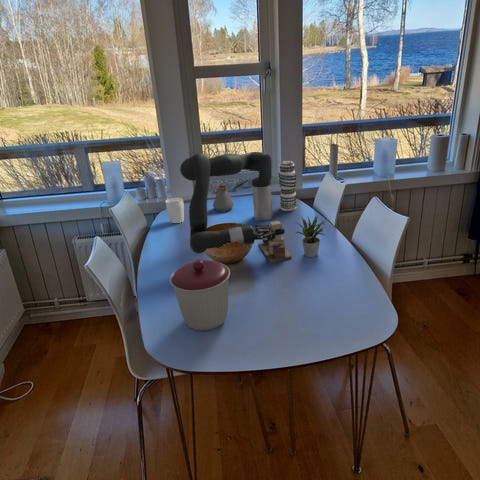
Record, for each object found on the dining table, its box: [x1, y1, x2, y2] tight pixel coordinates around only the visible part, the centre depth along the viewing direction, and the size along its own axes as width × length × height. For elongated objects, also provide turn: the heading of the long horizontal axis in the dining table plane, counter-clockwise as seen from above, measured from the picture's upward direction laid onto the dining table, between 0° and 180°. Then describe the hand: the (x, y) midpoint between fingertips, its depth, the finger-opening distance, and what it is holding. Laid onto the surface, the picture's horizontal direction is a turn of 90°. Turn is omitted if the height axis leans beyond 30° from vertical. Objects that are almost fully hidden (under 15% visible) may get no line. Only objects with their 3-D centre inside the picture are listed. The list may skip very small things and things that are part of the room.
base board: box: [258, 241, 293, 263], centre depth 167 cm, size 18×9×6 cm, turn 12°
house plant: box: [294, 215, 330, 258], centre depth 159 cm, size 14×14×16 cm
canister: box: [169, 259, 231, 332], centre depth 123 cm, size 18×18×21 cm
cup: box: [165, 196, 185, 224], centre depth 208 cm, size 9×9×12 cm
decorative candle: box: [277, 160, 298, 212], centre depth 210 cm, size 9×9×25 cm
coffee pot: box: [212, 179, 250, 212], centre depth 220 cm, size 21×12×15 cm, turn 97°
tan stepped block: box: [269, 220, 285, 254], centre depth 162 cm, size 3×6×13 cm, turn 102°
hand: (282, 229), depth 161 cm, fingers closed on tan stepped block, 3 cm apart
